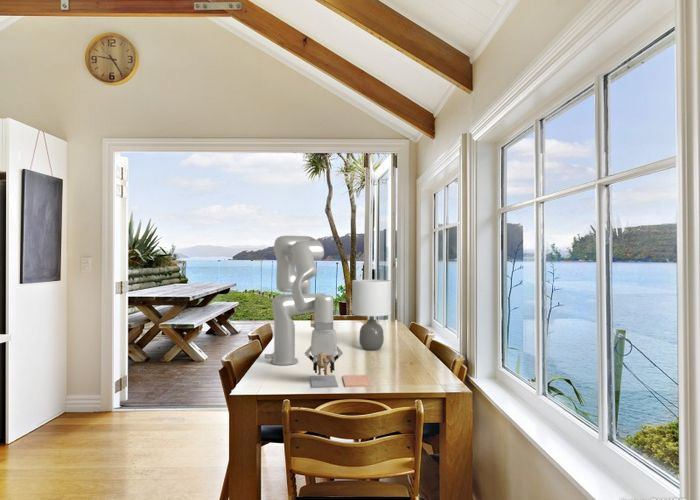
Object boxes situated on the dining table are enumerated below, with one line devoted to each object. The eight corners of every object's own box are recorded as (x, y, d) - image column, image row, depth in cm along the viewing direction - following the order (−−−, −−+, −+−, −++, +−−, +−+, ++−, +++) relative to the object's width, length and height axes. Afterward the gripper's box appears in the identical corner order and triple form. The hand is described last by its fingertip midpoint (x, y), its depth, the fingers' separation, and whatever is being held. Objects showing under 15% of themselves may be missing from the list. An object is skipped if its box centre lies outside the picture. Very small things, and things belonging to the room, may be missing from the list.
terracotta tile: (345, 388, 191) (345, 385, 191) (342, 378, 207) (342, 375, 207) (371, 388, 191) (371, 385, 191) (366, 377, 207) (366, 374, 207)
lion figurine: (327, 377, 192) (327, 354, 192) (314, 377, 193) (314, 354, 193) (336, 369, 206) (336, 347, 206) (323, 368, 207) (323, 347, 207)
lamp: (345, 347, 271) (345, 280, 271) (377, 344, 281) (377, 279, 281) (364, 354, 253) (365, 282, 253) (398, 350, 263) (398, 281, 263)
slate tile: (311, 389, 189) (311, 386, 189) (310, 378, 205) (310, 376, 205) (338, 388, 190) (338, 385, 190) (334, 378, 206) (334, 375, 206)
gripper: (302, 328, 194) (301, 374, 193) (346, 327, 195) (346, 374, 195) (302, 325, 201) (302, 370, 201) (344, 324, 203) (344, 369, 202)
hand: (323, 371), depth 198 cm, fingers closed on lion figurine, 5 cm apart
